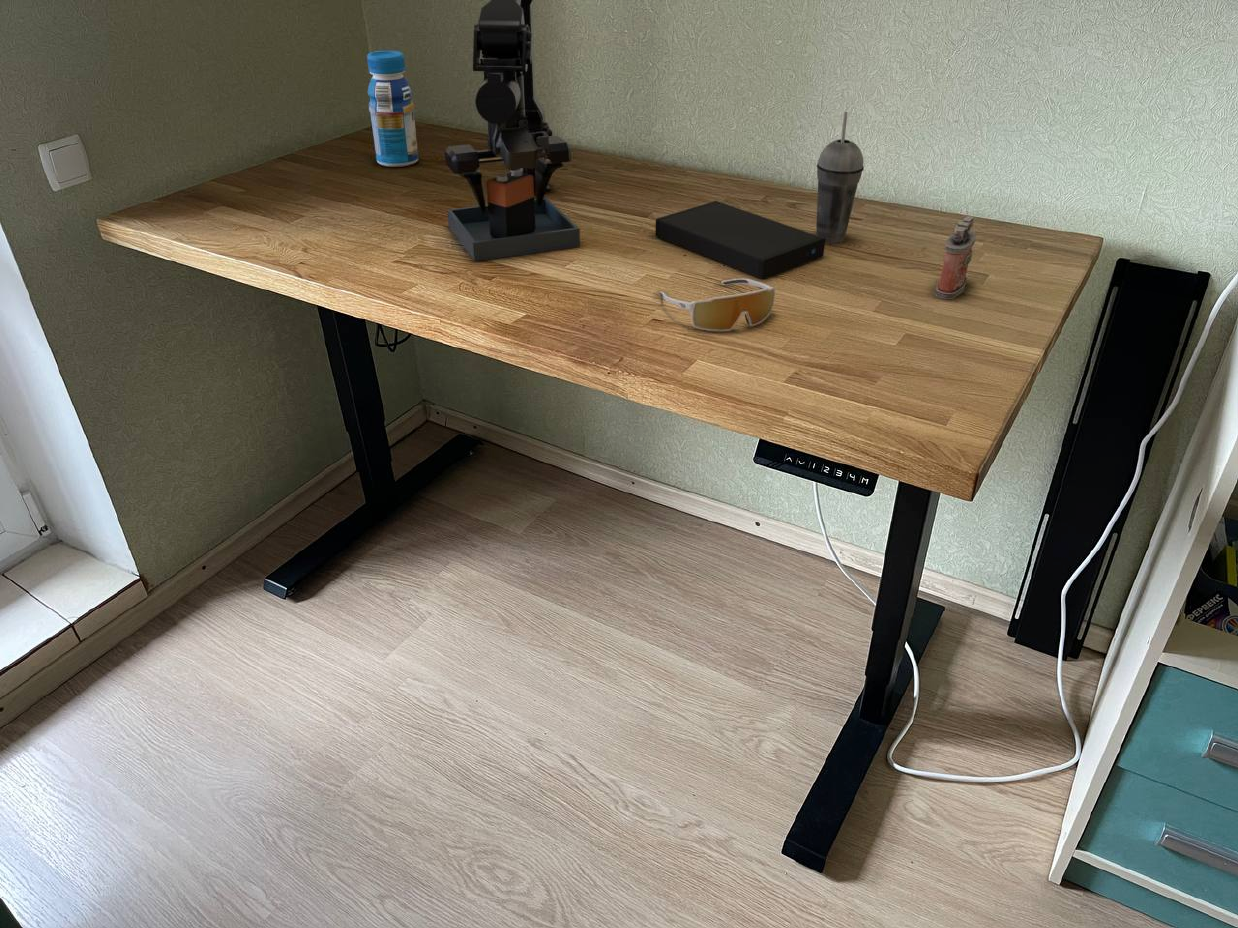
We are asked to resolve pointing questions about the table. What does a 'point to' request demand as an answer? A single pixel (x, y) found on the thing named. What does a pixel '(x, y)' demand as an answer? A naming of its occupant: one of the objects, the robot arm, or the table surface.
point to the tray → (547, 236)
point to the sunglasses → (729, 307)
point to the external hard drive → (740, 239)
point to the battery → (511, 204)
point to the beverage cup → (837, 186)
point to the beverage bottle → (391, 110)
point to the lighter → (956, 260)
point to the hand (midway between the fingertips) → (511, 208)
